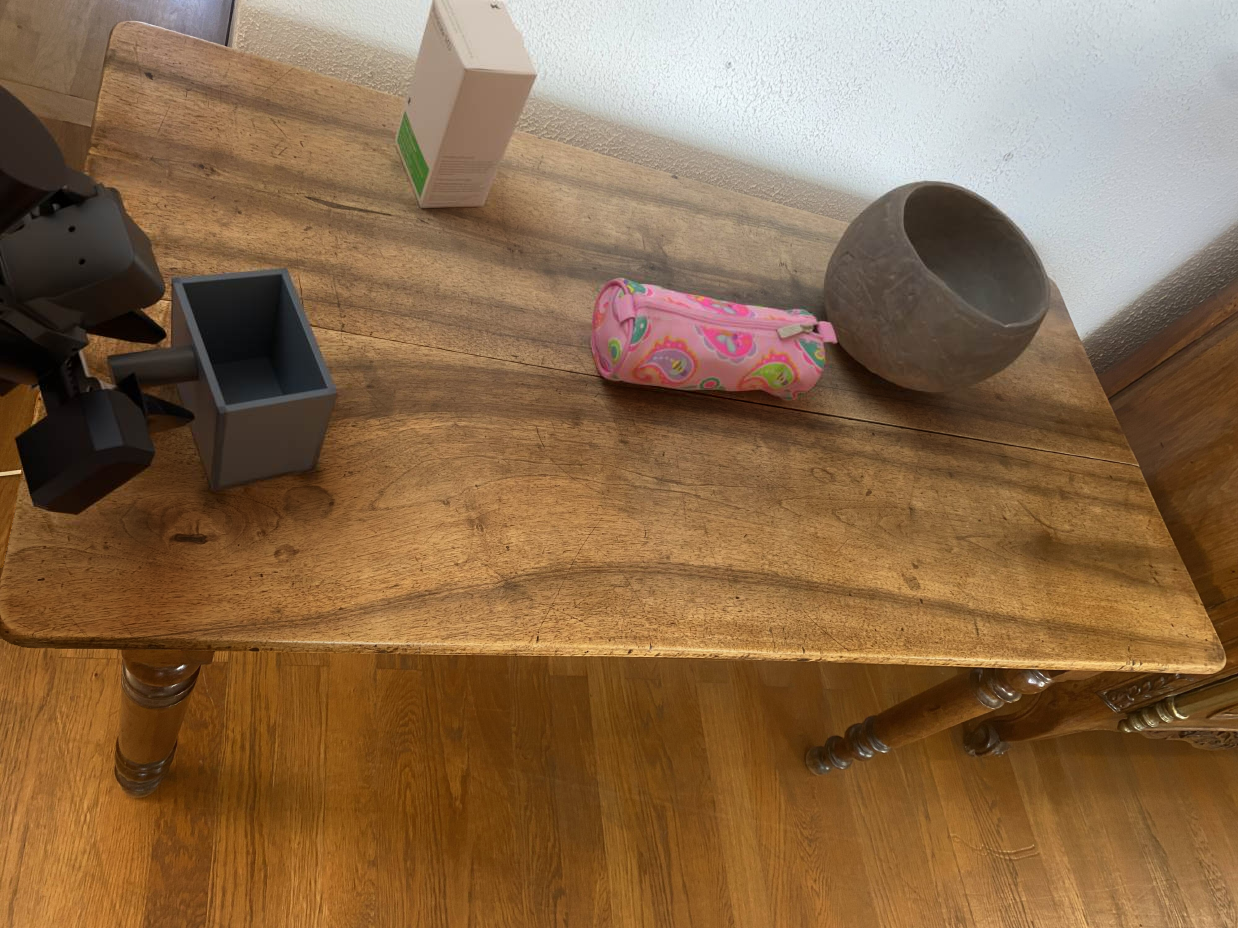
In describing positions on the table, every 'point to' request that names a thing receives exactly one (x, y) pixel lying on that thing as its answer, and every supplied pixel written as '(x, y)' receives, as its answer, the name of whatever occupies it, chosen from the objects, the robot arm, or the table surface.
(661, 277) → the table surface
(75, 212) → the robot arm
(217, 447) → the grey box with peg
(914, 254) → the bowl
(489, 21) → the cosmetic box
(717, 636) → the table surface
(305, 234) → the table surface
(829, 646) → the table surface
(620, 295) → the pencil case
